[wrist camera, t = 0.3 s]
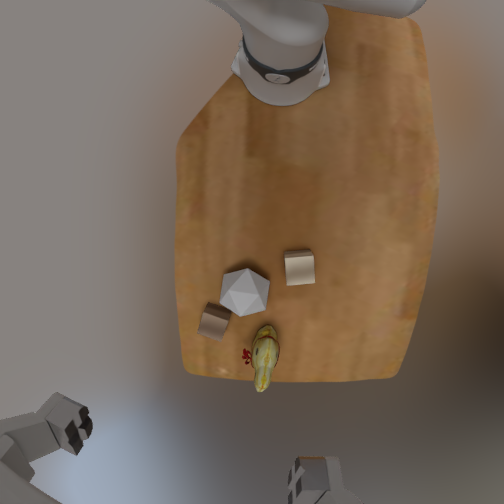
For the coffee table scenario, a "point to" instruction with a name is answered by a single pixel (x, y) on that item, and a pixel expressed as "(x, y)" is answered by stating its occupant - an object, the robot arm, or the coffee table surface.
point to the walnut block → (214, 321)
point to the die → (244, 292)
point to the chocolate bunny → (263, 356)
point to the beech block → (299, 267)
